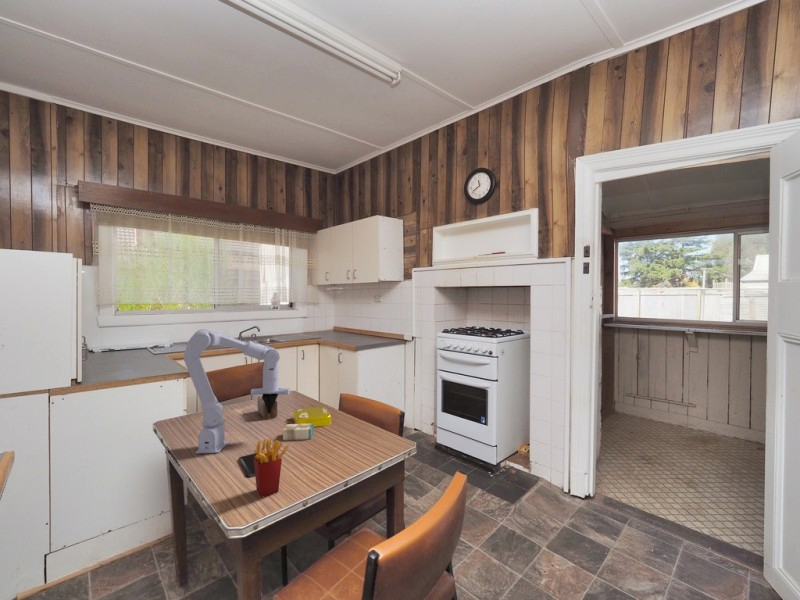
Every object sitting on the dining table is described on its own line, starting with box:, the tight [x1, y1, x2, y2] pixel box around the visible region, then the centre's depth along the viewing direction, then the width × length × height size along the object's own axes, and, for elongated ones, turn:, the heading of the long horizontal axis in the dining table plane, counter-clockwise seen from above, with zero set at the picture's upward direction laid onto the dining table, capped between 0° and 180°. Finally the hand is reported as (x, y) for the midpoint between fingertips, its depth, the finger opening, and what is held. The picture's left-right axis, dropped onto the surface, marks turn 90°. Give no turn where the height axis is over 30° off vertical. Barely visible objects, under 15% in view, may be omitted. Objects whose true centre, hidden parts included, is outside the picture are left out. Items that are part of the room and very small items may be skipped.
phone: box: [238, 451, 261, 479], centre depth 117 cm, size 8×1×15 cm
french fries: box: [253, 438, 290, 498], centre depth 103 cm, size 9×8×15 cm
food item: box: [256, 394, 279, 420], centre depth 166 cm, size 14×8×10 cm, turn 35°
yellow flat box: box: [293, 406, 332, 428], centre depth 158 cm, size 15×15×5 cm
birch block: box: [282, 423, 315, 441], centre depth 141 cm, size 6×4×11 cm
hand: (270, 412), depth 139 cm, fingers closed
